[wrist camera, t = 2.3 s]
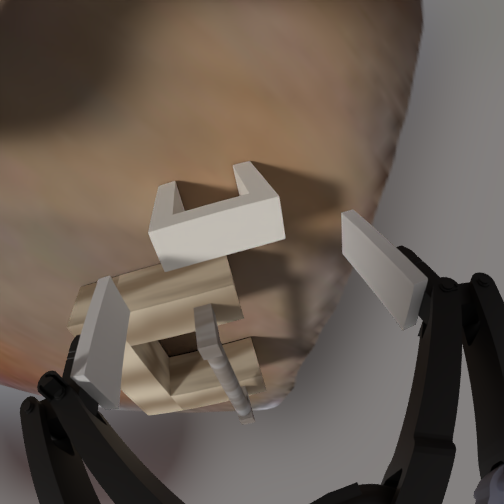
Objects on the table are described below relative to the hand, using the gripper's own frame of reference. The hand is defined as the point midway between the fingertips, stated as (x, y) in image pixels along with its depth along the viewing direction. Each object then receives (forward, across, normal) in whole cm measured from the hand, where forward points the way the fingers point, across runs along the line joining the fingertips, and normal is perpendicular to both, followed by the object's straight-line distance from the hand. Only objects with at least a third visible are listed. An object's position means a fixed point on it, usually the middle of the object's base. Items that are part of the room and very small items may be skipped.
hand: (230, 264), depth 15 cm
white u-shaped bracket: (+11, 0, 0) cm, 11 cm away
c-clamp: (+11, -8, -14) cm, 20 cm away
